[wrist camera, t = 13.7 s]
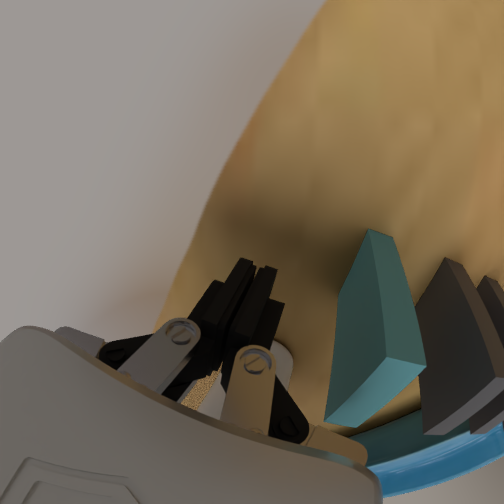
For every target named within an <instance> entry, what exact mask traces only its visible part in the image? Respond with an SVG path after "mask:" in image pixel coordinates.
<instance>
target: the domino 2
mask: <svg viewBox="0 0 504 504" xmlns="http://www.w3.org/2000/svg"><path fill="white" fill-rule="evenodd" d="M476 290H477V292H478V294H479V295H480V297H481V299H482V301H483V303H484V305H485V307H486V309H487V311H488V313H489V316H490V318H491V320H492V322H493V324H494V327H495V329H496V331H497V334H498V336H499V338H500V341H501V343H502V346H503V348H504V291H503V290H502V288H501V286H500V285H499V283H498V282H497V281H495V280H493V279H491V278H489V277H487V276H484V278H483V279H482V281H481V282H480V284H479V286H478V287H477V289H476ZM502 421H504V390H503V391H502V392H500V393H499V394H498V395H497V396H496V397H495V398H494V399H492V400H491V401H490V402H489V403H488V404H486V405H485V406H484V407H483V408H481V409H480V410H479V411H478V412H476V413H475V414H474V415H472V416H471V417H470V418H469V426H470V435H474V434H486V433H487V432H488V431H490V430H491V429H493V428H494V427H496V426H497V425H498V424H500V423H501V422H502Z"/></svg>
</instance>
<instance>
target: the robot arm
mask: <svg viewBox="0 0 504 504" xmlns="http://www.w3.org/2000/svg"><path fill="white" fill-rule="evenodd" d="M277 270H278V269H275V268H272V267H269V266H265V268H261V267H260V268H259V270H258V272H257V274H256V276H255V278H254V275H255V271H256V266H255V265H253V261H250V260H247V259H244V258H240V259H239V261H238V262H237V264H236V265H235V267H234V269H233V270H232V272H231V273H230V275H229V276H228V278H227V280H226V281H225V283H223V282H220V281H217V280H214V281H213V282H212V283H211V285H210V286H209V287H208V289H207V290H206V292H205V293H204V295H203V296H202V298H201V299H200V300H199V302H198V303H197V305H196V306H195V308H194V309H193V311H192V312H191V313H190V315H189V316H188V318H187V319H186V318H174V319H171V320H169V321H168V322H166V323H165V324H164V325H163V326H162V327H161V328H160V329H159V330H158V331H157V332H156V333H154V334H149V335H145V336H139V337H133V338H128V339H122V340H116V341H112V342H109V343H107V342H105V341H104V339H102V338H99V337H96V336H93V335H90V334H87V333H84V332H81V331H79V330H76V329H73V328H70V327H60V328H58V329H57V330H56V331H55V332H53V331H50V330H48V329H44V328H40V327H36V326H23V327H20V328H18V329H16V330H14V331H13V332H12V333H11V334H9V335H8V336H7V337H6V338H5V339H4V340H2V341H1V342H0V504H383V491H382V485H381V482H380V480H379V478H378V477H377V476H376V475H375V474H374V473H373V472H372V471H371V470H369V469H368V468H367V467H365V464H366V462H367V457H368V454H367V450H366V448H365V447H364V446H363V445H362V444H360V443H359V442H356V441H354V440H351V439H349V438H346V437H344V436H341V435H339V434H337V433H334V432H332V431H330V430H328V429H325V428H323V427H321V426H319V425H317V426H314V425H312V424H310V423H308V421H307V419H306V418H305V416H304V415H303V413H302V412H301V411H300V409H299V408H298V406H297V405H296V403H295V402H294V401H293V399H292V398H291V396H290V395H289V393H288V392H287V390H286V389H285V387H284V386H283V385H282V383H281V382H280V380H279V379H278V377H277V376H276V374H275V373H276V359H275V357H274V355H273V354H272V353H271V352H270V349H271V346H272V343H273V339H274V336H275V333H276V330H277V327H278V324H279V321H280V318H281V314H282V311H283V308H284V305H285V303H282V302H279V301H276V300H273V299H270V298H269V297H270V294H271V291H272V287H273V284H274V281H275V277H276V274H277ZM222 361H223V363H222ZM221 363H222V368H221V373H222V377H221V382H220V384H221V386H222V387H223V389H224V391H225V393H226V396H225V400H224V404H223V408H222V412H221V417H220V420H218V419H215V418H213V417H210V416H208V415H205V414H203V413H200V412H198V411H195V410H193V409H191V408H188V407H186V406H184V405H182V404H180V403H181V402H182V401H183V399H184V398H185V397H186V396H187V394H188V393H189V392H190V390H191V389H192V388H193V387H194V385H195V384H196V382H197V380H198V379H201V378H205V377H206V375H208V376H210V375H211V373H212V371H213V370H214V371H218V369H219V367H220V365H221Z"/></svg>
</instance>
